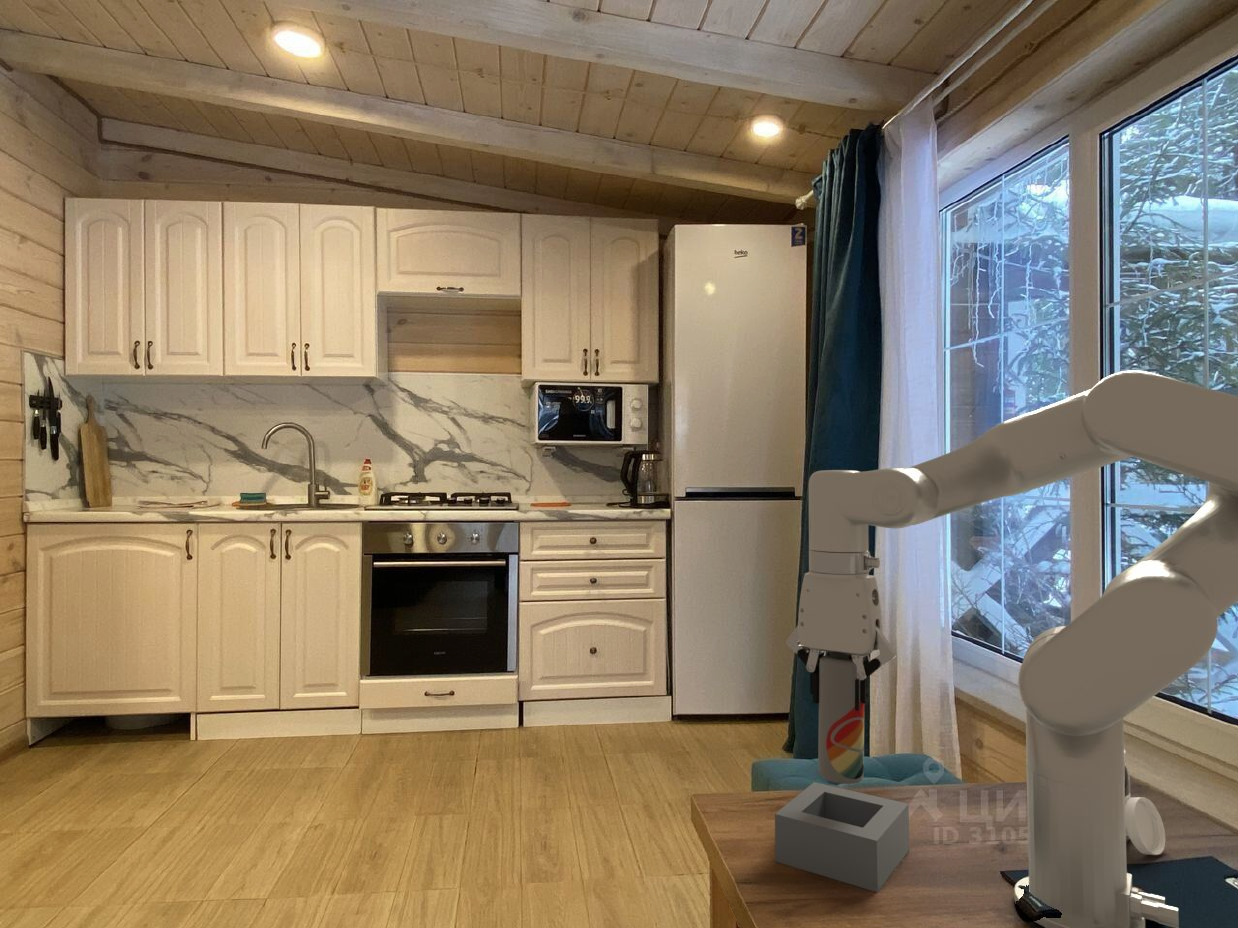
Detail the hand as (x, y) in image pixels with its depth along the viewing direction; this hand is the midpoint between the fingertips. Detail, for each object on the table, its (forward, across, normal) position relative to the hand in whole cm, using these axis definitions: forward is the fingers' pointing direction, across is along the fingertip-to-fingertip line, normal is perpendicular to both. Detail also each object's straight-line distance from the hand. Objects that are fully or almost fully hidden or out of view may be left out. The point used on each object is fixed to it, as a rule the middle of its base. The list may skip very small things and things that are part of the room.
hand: (839, 703), depth 101 cm
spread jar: (+20, -28, -26) cm, 43 cm away
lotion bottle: (+10, 0, 0) cm, 10 cm away
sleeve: (+20, 0, 0) cm, 20 cm away
